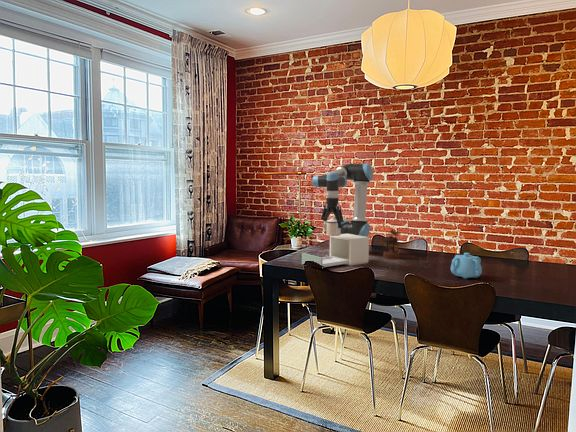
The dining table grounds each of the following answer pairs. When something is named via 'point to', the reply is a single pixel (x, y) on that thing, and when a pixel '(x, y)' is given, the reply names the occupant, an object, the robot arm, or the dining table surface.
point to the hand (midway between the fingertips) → (331, 232)
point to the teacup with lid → (331, 227)
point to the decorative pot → (466, 266)
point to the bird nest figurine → (390, 241)
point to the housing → (350, 248)
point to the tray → (324, 260)
